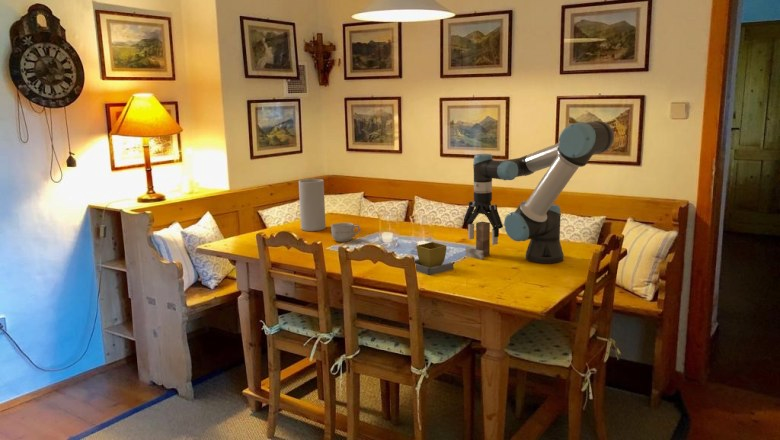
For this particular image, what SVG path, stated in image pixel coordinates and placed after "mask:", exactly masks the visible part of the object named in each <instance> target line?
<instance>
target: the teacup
mask: <svg viewBox="0 0 780 440" xmlns="http://www.w3.org/2000/svg"><path fill="white" fill-rule="evenodd" d="M330 228H331V229H330V230H331V232H330V233H331V237H332V238H333V239H334V240H335V241H336V242H338V243H339V242H340V243H341V242H343V243H344V242H349V241H351V240H352V239H353V238H355V236H356V235H358V234H359V233H360V232H361V229H362V228H361V227H360V225H359V224H354V223H352V222H339V223H337V222H336V223H332V224H330ZM356 228H357V229H358V230H357V231H356V232H355V229H356Z"/></svg>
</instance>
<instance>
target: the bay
mask: <svg viewBox="0 0 780 440" xmlns="http://www.w3.org/2000/svg"><path fill="white" fill-rule="evenodd" d="M414 260H415V264H416V270H417V271H416V272H418V273H421V274H423V275H424V274H425V275H426V276H433V275H434V276H435V275H436V274H437V275H438V274H441V273H445V272H448V271H452V270H454V262H447V263H443V264H442V265H440V266H436V267H432V268H429V267H426V266H422V264H421V263H420V261H419V258H417V259H414Z"/></svg>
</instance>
